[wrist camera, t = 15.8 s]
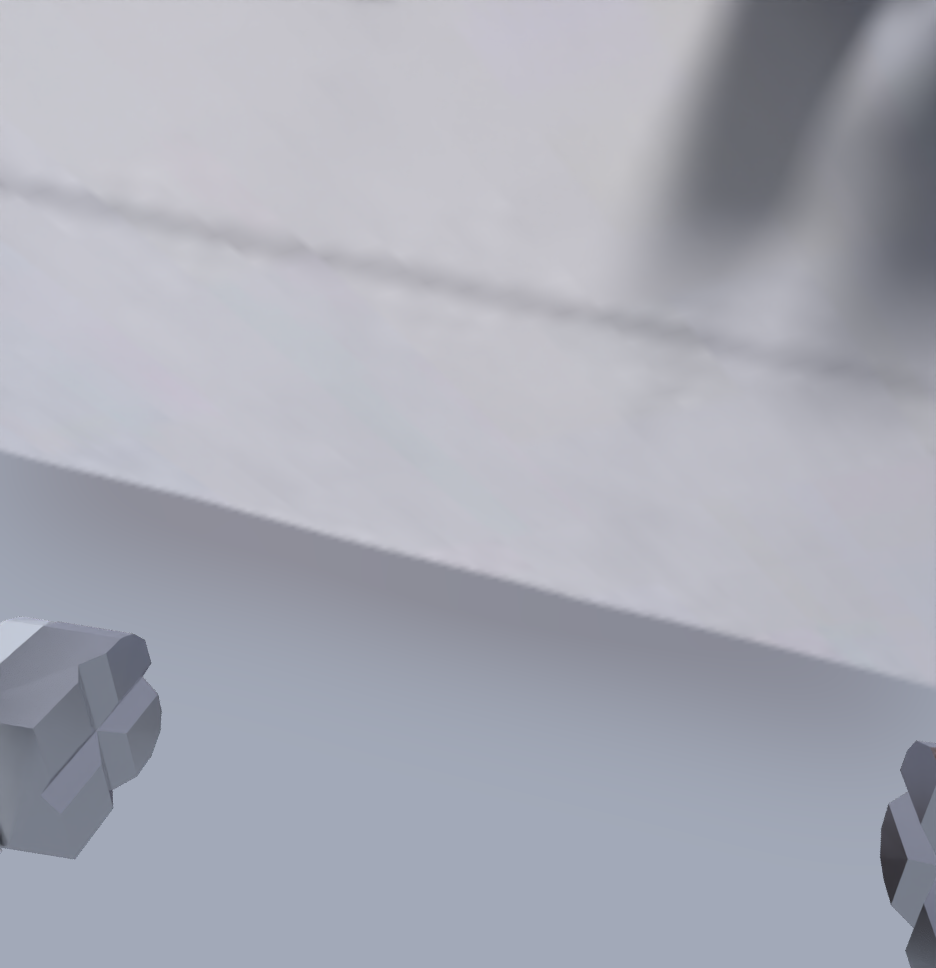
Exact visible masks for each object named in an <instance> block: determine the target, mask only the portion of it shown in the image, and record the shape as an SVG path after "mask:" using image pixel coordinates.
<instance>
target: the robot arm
mask: <svg viewBox="0 0 936 968" xmlns="http://www.w3.org/2000/svg"><path fill="white" fill-rule="evenodd" d="M150 665H151V660H150V656H149V653H148V649H147V645H146V642H145V640H144V639H142V638H140V637H138V636H137V635H135V634H132V633H126V632H120V631H113V630H107V629H101V628H95V627H88V626H83V625H77V624H70V623H64V622H52V621H47V620H40V619H34V618H28V617H22V616H20V617H16V618H11V619H7V620H4V621H3V622H2V623H0V853H1V852H2V849H1V848H7V849H13V850H20V851H26V852H32V853H38V854H45V855H51V856H57V857H63V858H70V859H76V857H77V856H78V855H79V853H80V852H81V851H82V849H83V848H84V847H85V845H86V844H87V843H88V841H89V840H90V839H91V837H92V836H93V835H94V833H95V832H96V831H97V829H98V828H99V827H100V825H101V824H102V823H103V821H104V820H105V819H106V817H107V816H108V815H109V813H110V812H111V811H112V809H113V791H112V790H113V789H115V788H117V787H119V786H121V785H122V784H124V783H126V782H128V781H129V780H131V779H133V778H135V777H137V776H138V774H139V773H140V771H141V770H142V768H143V767H144V766H145V764H146V763H147V761H148V760H149V758H150V757H151V756H152V753H153V750H154V747H155V744H156V742H157V739H158V736H159V733H160V730H161V729H160V728H161V712H162V711H161V706H160V701H159V696H158V693H157V692H156V691H155V690H154V689H153V688H152V687H151V685H150V684H149V683H148V682H147V681H146V680H145V679H144V678H143V675H144V674H145V672H146V670H147V669H148V668H149V666H150ZM900 771H901V774H902V777H903V779H904V782H905V784H906V787H907V790H908V792H906V793H905V794H903V795H901V796H900V797H898V798H897V799H895V800H893V801H892V802H890V803H889V804H888V807H887V811H886V814H885V817H884V821H883V824H882V828H881V848H880V859H881V866H882V872H883V878H884V883H885V886H886V890H887V893H888V896H889V899H890V903H891V905H892V907H893V908H895V910H896V911H898V913H899V914H900V915H901V916H902V917H903V918H904V919H905V920H906V921H907V922H908V923H909V924H910V925H911V926H912V927H913V928H914V929H913V932H912V934H911V937H910V940H909V942H908V945H907V947H906V950H905V951H906V954H907V957H908V960H909V964H910V967H911V968H936V743H932V742H924V741H915V743H914V744H913V745H912V746H911V747H910V748H909V749H908V751H907V752H906V755H905V758H904V761H903V763H902V766H901V769H900Z"/></svg>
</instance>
